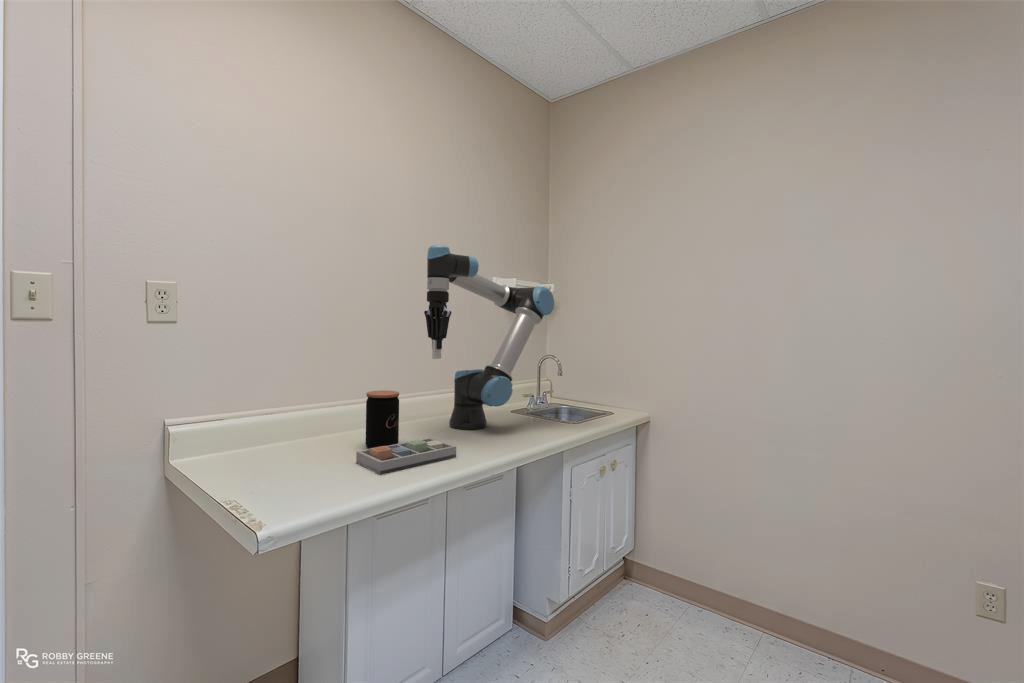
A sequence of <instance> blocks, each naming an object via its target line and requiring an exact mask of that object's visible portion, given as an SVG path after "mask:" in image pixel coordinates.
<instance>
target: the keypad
mask: <svg viewBox="0 0 1024 683" xmlns="http://www.w3.org/2000/svg"><path fill="white" fill-rule="evenodd" d="M420 440H422V441H425V442H428V441H434V440H435V441H438V442H441V443H443V448H441V449H434V448H432V447H429V446H427V450H425V451H420V452H416V451H414V450H411V449H410V455H408V456H403V457H402V456H399V455H397V454H395V453H392V457H391V458H386V459H381V460H379V459H377V458H374V457H372V456H370V448H367V449H362V450H357V451H355V452H356V455H355V456H356V457H355V458H356V459H355V461H356V464H358V465H360V466H361V467H364V468H366V469H368V470H370V471H371V472H374V473H375V474H378V475H380V476H381V475H386V474H388V473H389V474H390V473H394V472H397V471H402V470H406V469H411V468H412V469H413V468H416V467H420V466H425V465H428V464H433V463H436V462H441V461H446V460H449V459H455V458H457V446H456V445H453V444H450V443H448V442H445V441H441V440H438V439H435V438H432V437H427V438H423V439H422V438H421V439H420ZM406 442H407V441H405V442H400V443H399V442H398V444H394V445H389V446H386V447H388V448H391V449H392V448H397V447H404V448H406ZM407 449H409V448H407Z"/></svg>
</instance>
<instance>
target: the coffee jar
mask: <svg viewBox="0 0 1024 683" xmlns="http://www.w3.org/2000/svg"><path fill="white" fill-rule="evenodd" d="M399 396H400V391H397V390H386V389H385V390H383V389H382V390H372V391H371V390H370V391H367V392H366V397H367V399H366V402H365V403H366V404H365V445H366V447H367V449H370V448H375V447H380V446H389V445H394V444H399V431H400V426H399V425H400V423H399V422H400V400H399Z"/></svg>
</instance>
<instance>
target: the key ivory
mask: <svg viewBox="0 0 1024 683" xmlns="http://www.w3.org/2000/svg"><path fill="white" fill-rule="evenodd" d="M427 446H429V447H432V448H434V449H441V448H443V443H441V442H438V441H435V440H434V441H428V442H427Z"/></svg>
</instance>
